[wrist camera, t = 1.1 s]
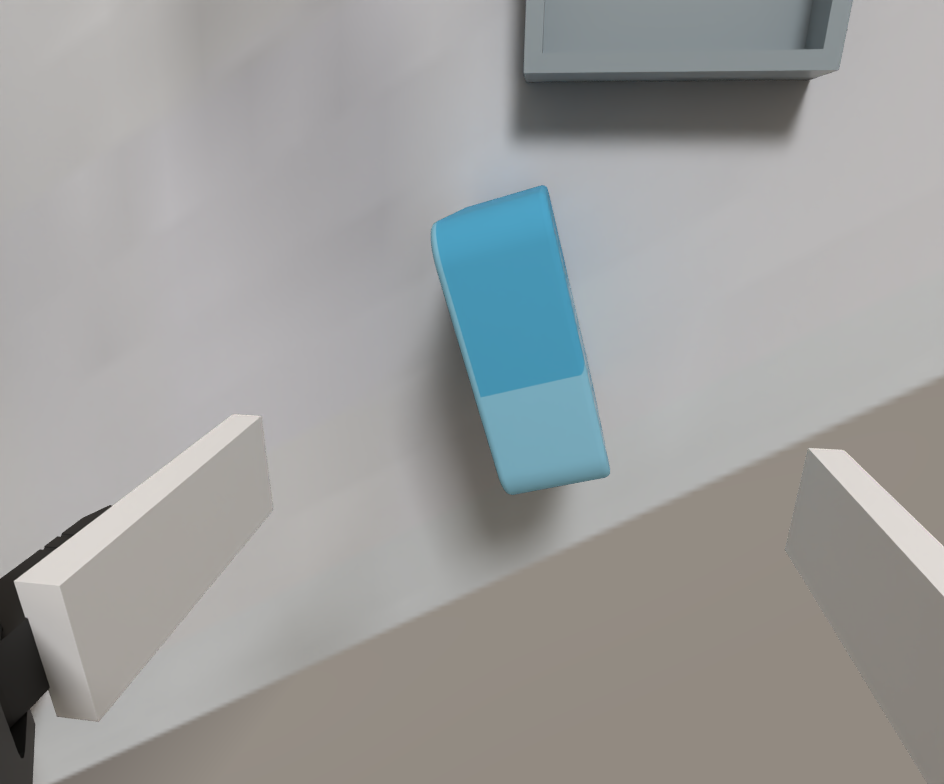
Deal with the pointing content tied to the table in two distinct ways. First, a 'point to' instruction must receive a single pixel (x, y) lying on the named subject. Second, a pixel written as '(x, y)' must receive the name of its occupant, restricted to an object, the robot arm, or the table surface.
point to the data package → (521, 340)
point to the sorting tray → (683, 39)
